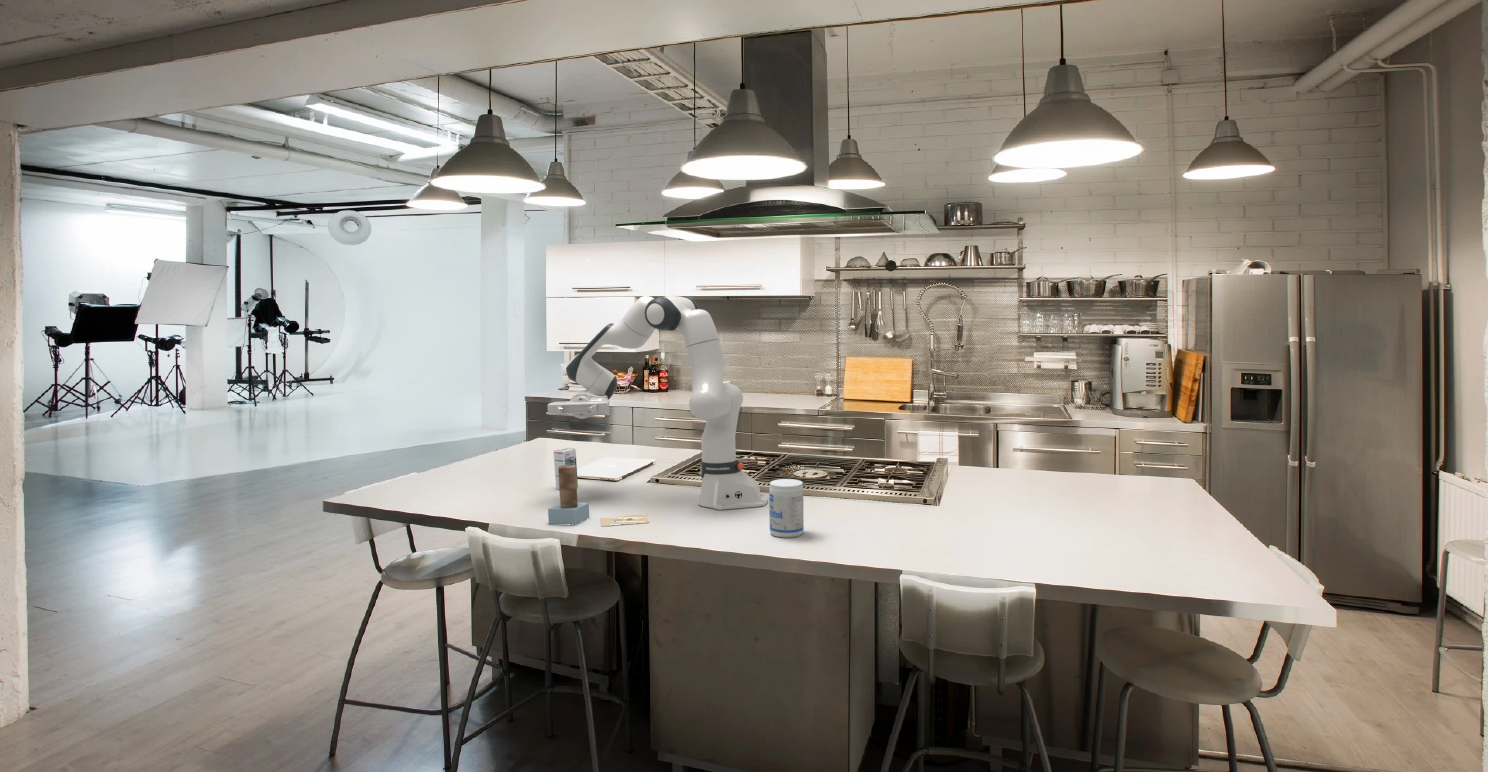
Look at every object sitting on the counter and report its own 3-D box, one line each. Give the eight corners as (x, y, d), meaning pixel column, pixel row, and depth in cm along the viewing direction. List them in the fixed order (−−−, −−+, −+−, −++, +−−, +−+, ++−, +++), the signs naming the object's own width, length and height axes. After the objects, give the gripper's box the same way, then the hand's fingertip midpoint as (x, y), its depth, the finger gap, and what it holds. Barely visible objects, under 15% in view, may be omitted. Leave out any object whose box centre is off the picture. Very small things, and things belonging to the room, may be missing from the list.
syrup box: (566, 490, 286) (564, 450, 284) (555, 488, 289) (553, 449, 288) (578, 487, 290) (576, 448, 289) (567, 485, 294) (565, 447, 292)
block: (577, 503, 247) (575, 464, 246) (577, 506, 242) (575, 467, 241) (561, 504, 246) (558, 466, 245) (560, 507, 241) (558, 468, 240)
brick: (589, 518, 247) (588, 502, 247) (575, 526, 239) (574, 510, 238) (563, 517, 250) (562, 501, 249) (548, 525, 241) (547, 508, 241)
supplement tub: (762, 534, 223) (761, 483, 222) (783, 527, 230) (782, 477, 229) (790, 540, 217) (789, 487, 216) (811, 532, 224) (809, 481, 223)
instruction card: (646, 514, 249) (646, 513, 249) (648, 522, 239) (648, 522, 239) (600, 518, 246) (600, 517, 246) (601, 526, 236) (601, 525, 236)
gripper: (551, 397, 271) (542, 401, 258) (611, 395, 272) (605, 399, 258) (552, 415, 272) (543, 421, 258) (612, 413, 272) (606, 419, 259)
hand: (575, 410), depth 258 cm, fingers open, 8 cm apart
